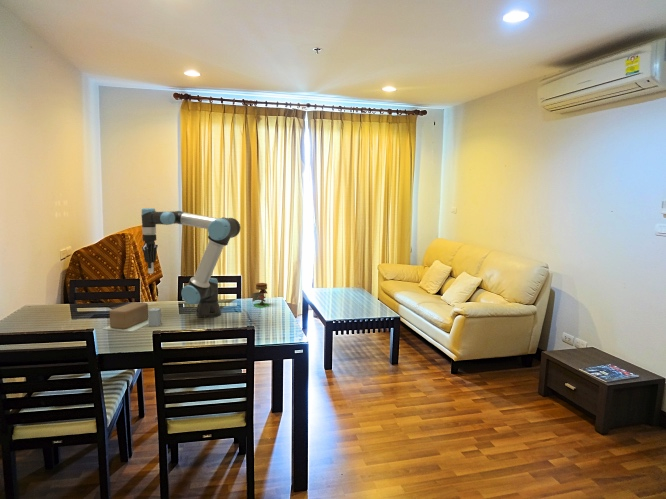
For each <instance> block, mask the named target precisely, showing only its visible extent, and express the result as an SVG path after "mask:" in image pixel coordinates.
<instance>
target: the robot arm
mask: <svg viewBox="0 0 666 499" xmlns="http://www.w3.org/2000/svg"><path fill="white" fill-rule="evenodd" d="M175 224H176V225H181V226H182V225H183V226H190V227H193V228H199V229H204V230H205V229H206V230H207V232H208V236H207V238H208V243H207V245H206V248H205V250H204V252H203V255H202V257H201V260H200V262H199V264H198V267H197V268H196V271H195V273H194V276H192V277H191V278H190V279H189V281H188V283H187V285H185V286H183V288H181V297H182V299H183V302H185V303H186V304H187V305H190V306H191V305H196V306H197V307H196V309H195V316H196V317H198V318H205V319H206V318H215V317H219V316H221V315H222V309H221V306H220V303H219V280H218V278H215V277H212V275H213V272H214V271H215V267H216V266H217V263H218V260H219V258H220V256H221V255H222V254H221V253H222V252H223V250H224V247H226V246H228V244H229V242H230V239H232V238H235V237H237V236H238V235H239V234H240V232H241V229H242V228H241V227H242V226H241V224H240V221H238V220H237V219H236V218H233V217H220V218H219V217H214V216H208V215H207V216H206V215H200V214H195V213H189V212H184V211H181V210H176V211H175V210H173V211H172V210H171V211H157V210H156V209H155V208H153V207H145V208H142V209H141V227H142V229H141V230H142V241H143V242H144V246H141V249H142V252H143V257H144V262H145V263H147V273H148V274H151V275H153V274H154V273H155V272H154V271H155V269H154V268H155V267H154V265H155V264H154V263H156V261H157V251H158V244H156V241H157V225H164V226H168V225H175Z"/></svg>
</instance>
